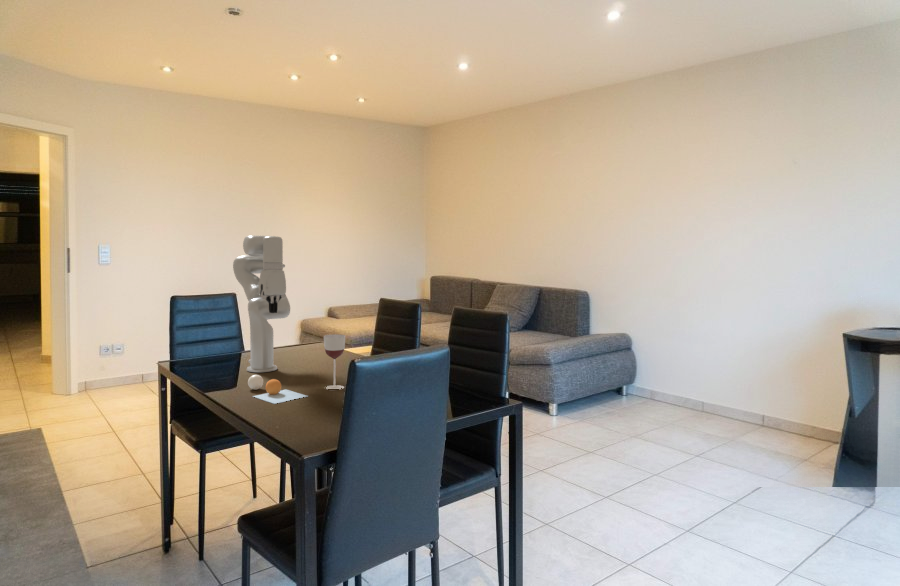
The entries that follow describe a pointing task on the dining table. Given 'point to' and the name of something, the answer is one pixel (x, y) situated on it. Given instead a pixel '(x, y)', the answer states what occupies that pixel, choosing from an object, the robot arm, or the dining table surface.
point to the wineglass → (334, 352)
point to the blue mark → (280, 396)
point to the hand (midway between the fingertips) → (273, 312)
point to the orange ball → (273, 386)
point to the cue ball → (255, 382)
